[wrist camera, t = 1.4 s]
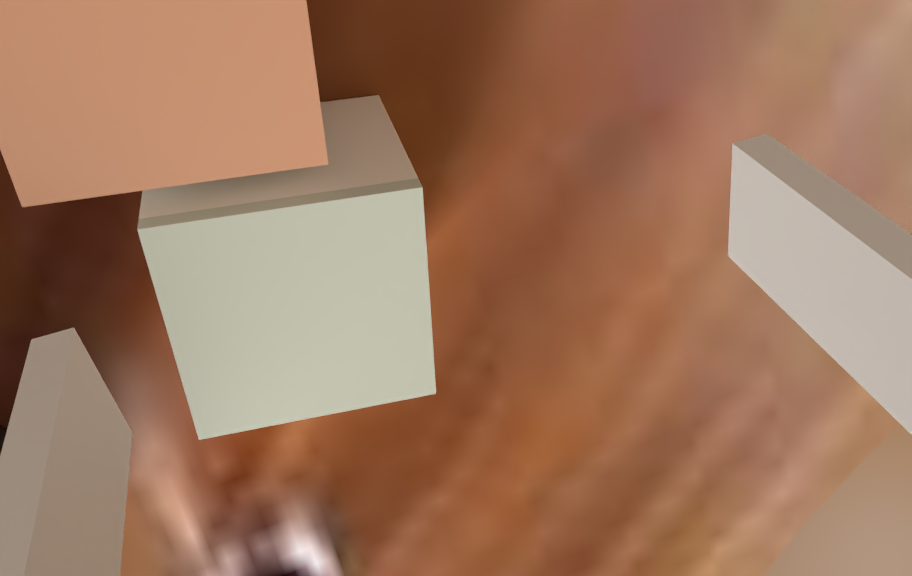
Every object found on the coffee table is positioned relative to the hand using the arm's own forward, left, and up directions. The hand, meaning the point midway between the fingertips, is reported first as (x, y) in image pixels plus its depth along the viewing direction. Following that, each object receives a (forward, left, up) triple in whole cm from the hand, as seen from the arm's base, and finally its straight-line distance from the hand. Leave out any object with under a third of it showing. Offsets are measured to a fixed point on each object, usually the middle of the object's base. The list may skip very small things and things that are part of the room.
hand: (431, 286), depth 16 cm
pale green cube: (-3, -8, -20) cm, 22 cm away
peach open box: (-6, +2, -20) cm, 21 cm away
